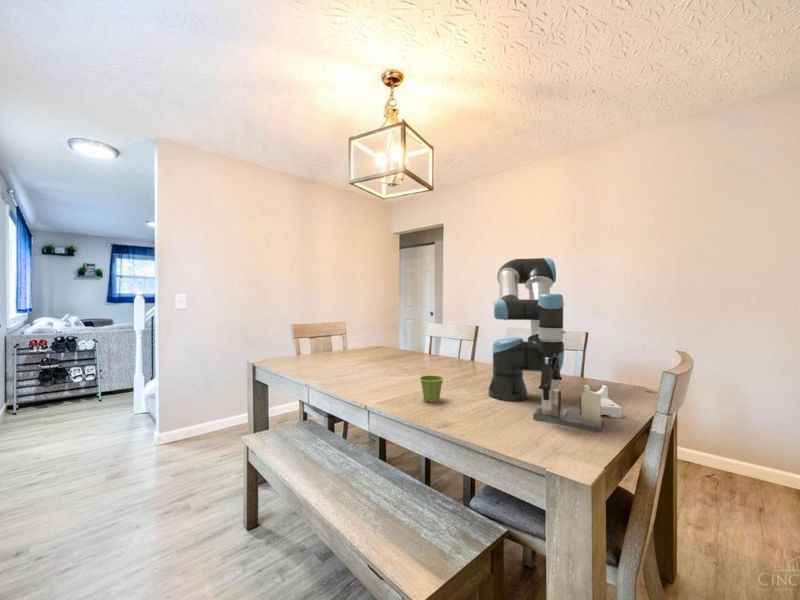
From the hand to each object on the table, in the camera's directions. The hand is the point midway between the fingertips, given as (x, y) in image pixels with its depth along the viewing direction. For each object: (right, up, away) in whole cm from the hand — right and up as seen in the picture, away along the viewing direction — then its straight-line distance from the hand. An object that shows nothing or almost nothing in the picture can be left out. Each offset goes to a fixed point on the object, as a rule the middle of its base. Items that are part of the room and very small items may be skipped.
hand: (551, 404), depth 113 cm
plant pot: (-38, -5, +20) cm, 43 cm away
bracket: (+21, -5, +7) cm, 22 cm away
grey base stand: (+4, -5, -3) cm, 7 cm away
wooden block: (0, -3, 0) cm, 3 cm away
